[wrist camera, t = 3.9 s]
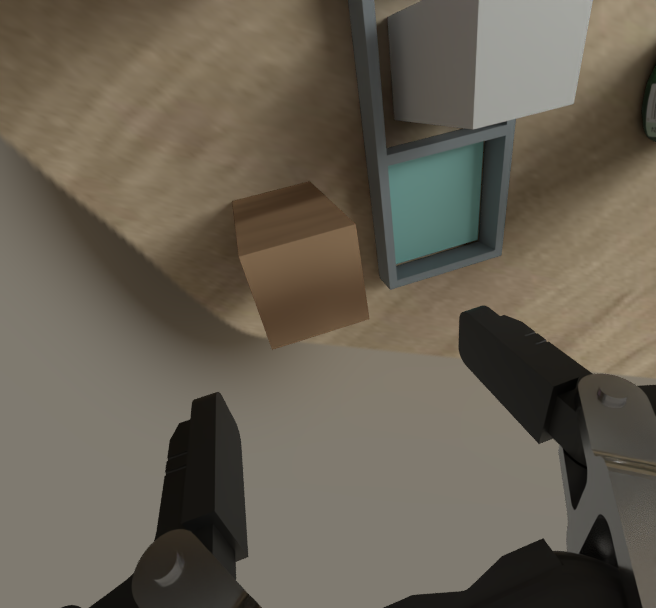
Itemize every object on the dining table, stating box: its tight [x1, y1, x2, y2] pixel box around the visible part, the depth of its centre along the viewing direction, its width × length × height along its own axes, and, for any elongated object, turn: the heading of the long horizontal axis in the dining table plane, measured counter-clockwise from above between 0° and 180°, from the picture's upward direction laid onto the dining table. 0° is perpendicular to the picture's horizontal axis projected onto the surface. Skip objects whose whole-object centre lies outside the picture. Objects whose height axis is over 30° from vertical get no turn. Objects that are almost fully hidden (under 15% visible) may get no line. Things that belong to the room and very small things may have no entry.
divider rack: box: [348, 0, 593, 290], centre depth 19 cm, size 18×9×8 cm, turn 10°
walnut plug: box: [232, 181, 369, 350], centre depth 19 cm, size 5×5×9 cm
